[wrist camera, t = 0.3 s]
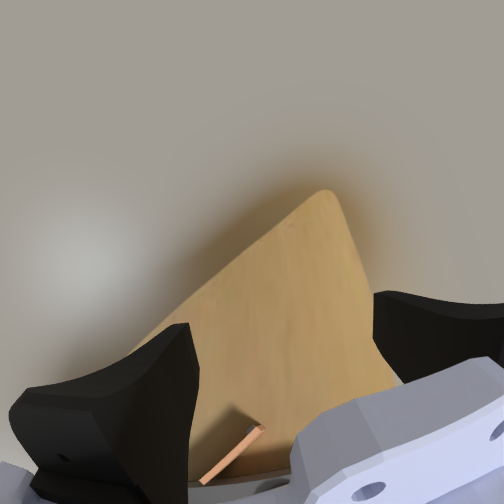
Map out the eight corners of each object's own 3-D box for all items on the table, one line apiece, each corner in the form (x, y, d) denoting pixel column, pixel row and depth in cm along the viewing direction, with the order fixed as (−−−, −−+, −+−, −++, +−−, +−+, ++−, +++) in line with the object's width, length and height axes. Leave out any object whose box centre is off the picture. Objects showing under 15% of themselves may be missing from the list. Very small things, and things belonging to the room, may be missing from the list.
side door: (266, 428, 34) (261, 431, 30) (213, 478, 31) (203, 484, 27) (257, 421, 34) (252, 423, 31) (206, 471, 32) (195, 477, 28)
